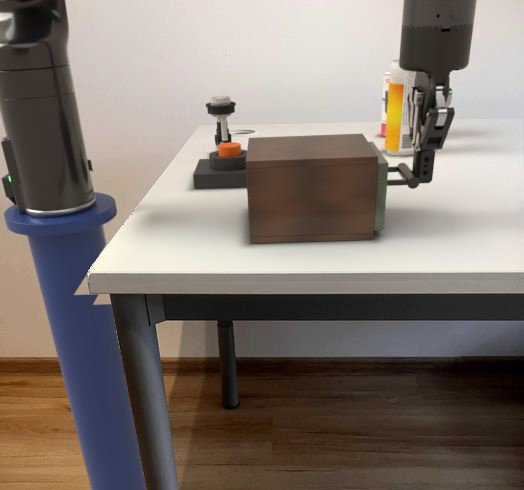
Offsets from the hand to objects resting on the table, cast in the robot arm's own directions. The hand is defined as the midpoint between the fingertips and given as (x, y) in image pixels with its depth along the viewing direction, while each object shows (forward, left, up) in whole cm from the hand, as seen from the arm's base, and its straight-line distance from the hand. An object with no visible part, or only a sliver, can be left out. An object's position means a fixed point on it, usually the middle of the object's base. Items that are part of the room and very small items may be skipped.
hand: (421, 181), depth 73 cm
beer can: (+5, +37, -5) cm, 38 cm away
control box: (-25, +23, -5) cm, 34 cm away
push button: (-27, +39, -5) cm, 48 cm away
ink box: (+8, +50, -5) cm, 51 cm away
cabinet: (-14, 0, -5) cm, 15 cm away
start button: (-25, +23, -1) cm, 34 cm away
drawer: (-10, 0, -4) cm, 11 cm away
